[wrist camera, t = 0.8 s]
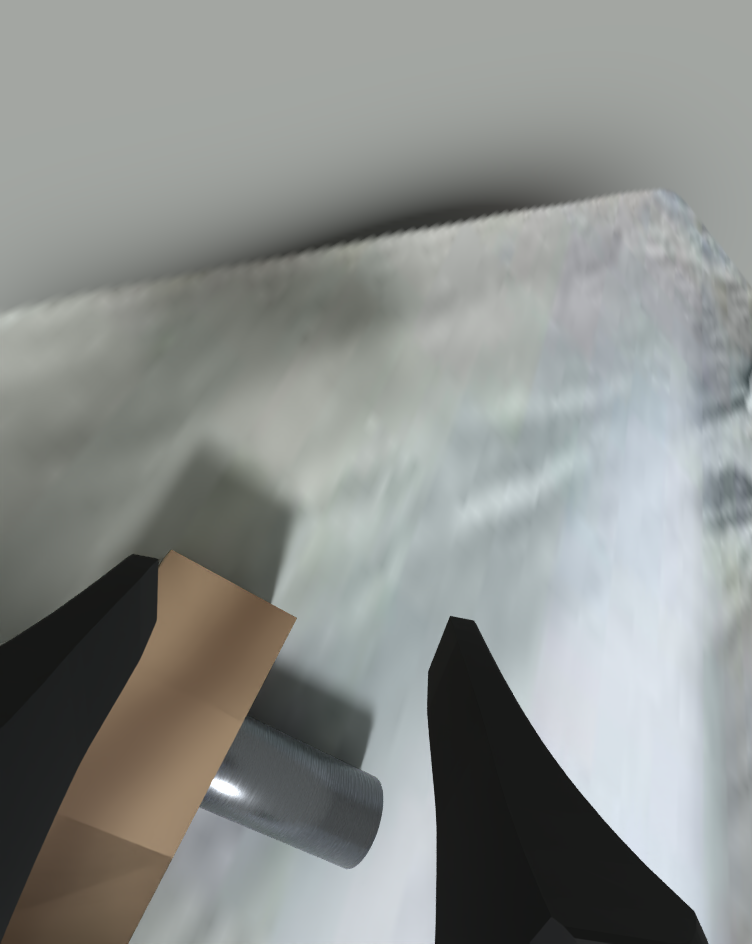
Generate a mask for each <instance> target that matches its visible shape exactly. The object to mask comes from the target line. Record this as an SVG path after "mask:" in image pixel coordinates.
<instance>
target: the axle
mask: <svg viewBox="0 0 752 944" xmlns="http://www.w3.org/2000/svg"><path fill="white" fill-rule="evenodd" d="M199 807H200V808H203V809H205V810H207V811H210V812H212V813H214V814H217V815H219V816H222V817H224V818H226V819H229V820H231V821H233V822H236V823H238V824H241V825H243V826H245V827H248V828H250V829H252V830H255V831H257V832H260V833H262V834H264V835H267V836H269V837H271V838H274V839H276V840H279V841H281V842H283V843H286V844H288V845H290V846H293V847H295V848H298V849H300V850H302V851H305V852H307V853H309V854H312V855H314V856H317V857H319V858H321V859H324V860H326V861H328V862H331V863H333V864H336V865H338V866H340V867H343V868H345V869H351V868H353V867H355V866H357V865H358V864H359V863H360V862H361V861H362V860H363V858H364V857H365V856H366V854H367V853H368V851H369V849H370V848H371V846H372V844H373V841H374V839H375V837H376V834H377V831H378V828H379V825H380V821H381V816H382V810H383V790H382V786H381V783H380V781H379V780H378V779H377V778H376V777H375V776H372V775H370V774H368V773H366V772H364V771H362V770H360V769H358V768H356V767H354V766H352V765H350V764H347V763H345V762H343V761H341V760H339V759H337V758H335V757H333V756H331V755H329V754H327V753H325V752H322V751H320V750H318V749H316V748H314V747H312V746H310V745H308V744H306V743H304V742H302V741H300V740H297V739H295V738H293V737H291V736H289V735H287V734H285V733H283V732H281V731H279V730H277V729H275V728H273V727H270V726H268V725H266V724H264V723H262V722H260V721H258V720H256V719H254V718H252V717H250V716H248V715H246V717H245V719H244V721H243V723H242V725H241V727H240V729H239V731H238V733H237V735H236V737H235V739H234V740H233V742H232V744H231V746H230V748H229V750H228V752H227V754H226V756H225V758H224V760H223V762H222V764H221V766H220V767H219V769H218V771H217V773H216V775H215V777H214V779H213V781H212V783H211V785H210V787H209V789H208V791H207V792H206V794H205V796H204V798H203V800H202V802H201V804H200V806H199Z"/></svg>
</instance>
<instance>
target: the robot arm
mask: <svg viewBox="0 0 752 944" xmlns="http://www.w3.org/2000/svg"><path fill="white" fill-rule="evenodd" d="M157 602H158V559H156V558H150V557H145V556H140V555H135V554H132V555H130V556H129V557H127V558H126V559H125V560H123V561H122V562H121V563H119V564H118V565H117V566H116V567H114V568H113V569H112V570H110V571H109V572H108V573H106V574H105V575H104V576H103V577H101V578H100V579H99V580H97V581H96V582H95V583H93V584H92V585H91V586H89V587H88V588H87V589H85V590H84V591H82V592H81V593H80V594H78V595H77V596H75V597H74V598H73V599H71V600H70V601H68V602H67V603H66V604H64V605H63V606H61V607H60V608H59V609H57V610H56V611H54V612H53V613H51V614H50V615H48V616H47V617H45V618H44V619H42V620H41V621H39V622H38V623H36V624H35V625H33V626H32V627H30V628H28V629H27V630H25V631H24V632H22V633H21V634H19V635H18V636H16V637H14V638H13V639H11V640H10V641H8V642H6V643H5V644H3V645H1V646H0V944H1V941H2V939H3V936H4V934H5V931H6V929H7V927H8V924H9V922H10V919H11V917H12V914H13V912H14V910H15V907H16V905H17V903H18V900H19V898H20V896H21V893H22V891H23V889H24V886H25V884H26V882H27V879H28V877H29V875H30V872H31V870H32V868H33V865H34V863H35V861H36V858H37V856H38V854H39V852H40V850H41V847H42V845H43V843H44V841H45V838H46V836H47V834H48V832H49V830H50V827H51V825H52V823H53V821H54V818H55V816H56V814H57V812H58V810H59V808H60V805H61V803H62V801H63V799H64V797H65V795H66V793H67V790H68V788H69V786H70V784H71V782H72V780H73V778H74V776H75V773H76V771H77V769H78V767H79V765H80V763H81V761H82V760H83V758H84V756H85V754H86V752H87V750H88V748H89V747H90V745H91V743H92V741H93V740H94V738H95V736H96V735H97V733H98V731H99V729H100V728H101V726H102V724H103V723H104V721H105V719H106V718H107V716H108V714H109V712H110V711H111V709H112V707H113V706H114V704H115V702H116V700H117V699H118V697H119V695H120V694H121V692H122V690H123V689H124V687H125V685H126V683H127V682H128V680H129V678H130V676H131V675H132V673H133V671H134V669H135V668H136V666H137V664H138V662H139V661H140V659H141V656H142V654H143V652H144V650H145V648H146V645H147V643H148V641H149V638H150V636H151V634H152V631H153V629H154V627H155V624H156V622H157ZM427 716H428V728H429V740H430V751H431V762H432V773H433V784H434V795H435V806H436V825H437V875H436V930H435V944H708V941H707V938H706V936H705V934H704V932H703V930H702V927H701V925H700V923H699V921H698V918H697V916H696V914H695V912H694V911H693V910H692V909H691V908H690V907H689V906H688V905H687V904H686V903H685V902H684V901H683V900H682V899H681V898H680V897H679V896H678V895H677V894H676V893H675V892H673V891H672V890H671V889H670V888H669V887H668V886H667V885H666V884H665V883H664V882H663V881H662V880H661V879H660V878H659V877H658V876H657V875H656V874H655V873H654V872H652V871H651V870H650V869H649V868H648V867H647V866H646V865H645V864H644V863H643V862H642V861H641V860H640V859H639V857H638V856H637V855H636V854H635V853H634V852H633V851H632V850H631V849H630V848H629V847H628V846H627V845H626V844H625V843H624V842H623V841H622V840H621V839H620V838H619V836H618V835H617V834H616V833H615V832H614V831H613V830H612V829H611V828H610V826H609V825H608V824H607V823H606V822H605V821H604V820H603V819H602V817H601V816H600V815H599V814H598V813H597V812H596V810H595V809H594V808H593V807H592V806H591V804H590V803H589V802H588V801H587V800H586V799H585V797H584V796H583V795H582V794H581V793H580V791H579V790H578V789H577V788H576V786H575V785H574V784H573V783H572V781H571V780H570V779H569V778H568V776H567V775H566V774H565V772H564V771H563V770H562V768H561V767H560V766H559V764H558V763H557V761H556V760H555V759H554V757H553V756H552V755H551V753H550V752H549V750H548V749H547V748H546V746H545V745H544V743H543V742H542V740H541V739H540V737H539V736H538V734H537V733H536V731H535V729H534V728H533V726H532V725H531V723H530V722H529V720H528V718H527V717H526V715H525V714H524V712H523V710H522V709H521V707H520V705H519V704H518V702H517V700H516V698H515V697H514V695H513V693H512V691H511V690H510V688H509V686H508V684H507V683H506V681H505V679H504V677H503V675H502V674H501V672H500V670H499V668H498V666H497V664H496V662H495V660H494V658H493V657H492V655H491V653H490V651H489V649H488V647H487V645H486V643H485V641H484V639H483V637H482V635H481V633H480V631H479V629H478V627H477V625H476V623H475V622H474V621H473V620H468V619H463V618H458V617H453V616H450V618H449V620H448V623H447V625H446V628H445V630H444V633H443V635H442V638H441V640H440V643H439V645H438V648H437V651H436V653H435V656H434V658H433V661H432V663H431V666H430V668H429V671H428V695H427Z"/></svg>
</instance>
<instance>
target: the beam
mask: <svg viewBox="0 0 752 944" xmlns="http://www.w3.org/2000/svg"><path fill="white" fill-rule="evenodd" d="M296 619H297V618H296V617H294V616H292V615H290V614H289V613H287V612H285V611H283V610H281V609H279V608H278V607H276V606H274V605H272V604H270V603H268V602H267V601H265V600H263V599H261V598H259V597H257V596H256V595H254V594H252V593H250V592H248V591H246V590H245V589H243V588H241V587H239V586H237V585H235V584H234V583H232V582H230V581H228V580H226V579H224V578H223V577H221V576H219V575H217V574H215V573H213V572H212V571H210V570H208V569H206V568H204V567H202V566H201V565H199V564H197V563H195V562H193V561H192V560H190V559H188V558H186V557H184V556H182V555H181V554H179V553H177V552H175V551H173V550H170V552H169V553H168V554H167V555H166V556H165V557H164V559H163V560H162V562H161V564H160V565H159V567H158V602H157V622H156V624H155V627H154V629H153V631H152V634H151V636H150V638H149V641H148V643H147V645H146V648H145V650H144V652H143V654H142V656H141V659H140V661H139V662H138V664H137V666H136V668H135V669H134V671H133V673H132V675H131V676H130V678H129V680H128V682H127V683H126V685H125V687H124V689H123V690H122V692H121V694H120V695H119V697H118V699H117V700H116V702H115V704H114V706H113V707H112V709H111V711H110V712H109V714H108V716H107V718H106V719H105V721H104V723H103V724H102V726H101V728H100V729H99V731H98V733H97V735H96V736H95V738H94V740H93V741H92V743H91V745H90V747H89V748H88V750H87V752H86V754H85V756H84V758H83V760H82V761H81V763H80V765H79V767H78V769H77V771H76V773H75V776H74V778H73V780H72V782H71V784H70V786H69V788H68V790H67V793H66V795H65V797H64V799H63V801H62V803H61V805H60V808H59V810H58V812H57V814H56V816H55V818H54V821H53V823H52V825H51V827H50V830H49V832H48V834H47V836H46V838H45V841H44V843H43V845H42V847H41V850H40V852H39V854H38V856H37V858H36V861H35V863H34V865H33V868H32V870H31V872H30V875H29V877H28V879H27V882H26V884H25V886H24V889H23V891H22V893H21V896H20V898H19V900H18V903H17V905H16V907H15V910H14V912H13V914H12V917H11V919H10V922H9V924H8V927H7V929H6V931H5V934H4V936H3V939H2V941H1V944H128V943H129V941H130V939H131V937H132V935H133V933H134V931H135V929H136V927H137V926H138V924H139V922H140V920H141V918H142V916H143V914H144V912H145V910H146V908H147V906H148V904H149V902H150V900H151V899H152V897H153V895H154V893H155V891H156V889H157V887H158V885H159V883H160V881H161V879H162V877H163V875H164V873H165V872H166V870H167V868H168V866H169V864H170V862H171V860H172V858H173V856H174V854H175V852H176V850H177V848H178V846H179V845H180V843H181V841H182V839H183V837H184V835H185V833H186V831H187V829H188V827H189V825H190V823H191V821H192V819H193V818H194V816H195V814H196V812H197V810H198V808H199V806H200V804H201V802H202V800H203V798H204V796H205V794H206V792H207V791H208V789H209V787H210V785H211V783H212V781H213V779H214V777H215V775H216V773H217V771H218V769H219V767H220V766H221V764H222V762H223V760H224V758H225V756H226V754H227V752H228V750H229V748H230V746H231V744H232V742H233V740H234V739H235V737H236V735H237V733H238V731H239V729H240V727H241V725H242V723H243V721H244V719H245V717H246V715H247V713H248V712H249V710H250V708H251V706H252V704H253V702H254V700H255V698H256V696H257V694H258V692H259V690H260V688H261V686H262V685H263V683H264V681H265V679H266V677H267V675H268V673H269V671H270V669H271V667H272V665H273V663H274V661H275V659H276V658H277V656H278V654H279V652H280V650H281V648H282V646H283V644H284V642H285V640H286V638H287V636H288V634H289V632H290V631H291V629H292V627H293V625H294V623H295V621H296Z"/></svg>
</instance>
